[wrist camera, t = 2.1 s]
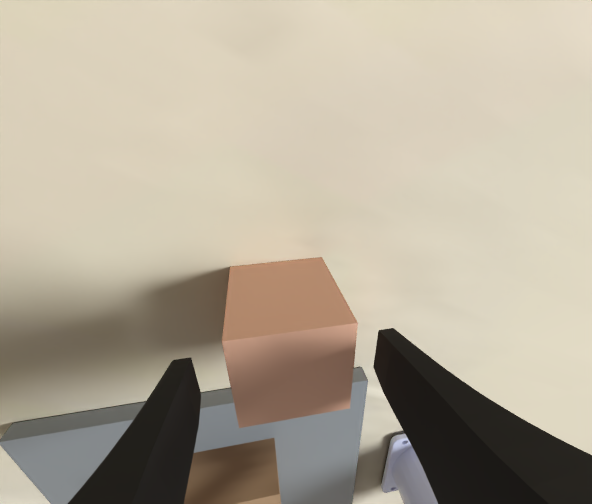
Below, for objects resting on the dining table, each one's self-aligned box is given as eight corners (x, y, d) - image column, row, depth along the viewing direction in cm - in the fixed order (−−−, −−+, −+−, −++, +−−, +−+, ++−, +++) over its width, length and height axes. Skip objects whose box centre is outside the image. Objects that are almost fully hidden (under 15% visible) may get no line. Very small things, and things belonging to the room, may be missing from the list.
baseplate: (361, 367, 18) (368, 380, 17) (347, 492, 25) (351, 507, 24) (12, 423, 15) (-3, 442, 14) (109, 546, 22) (103, 564, 21)
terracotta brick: (321, 256, 14) (357, 323, 9) (320, 326, 16) (350, 408, 11) (230, 266, 13) (221, 341, 9) (241, 337, 15) (239, 428, 11)
